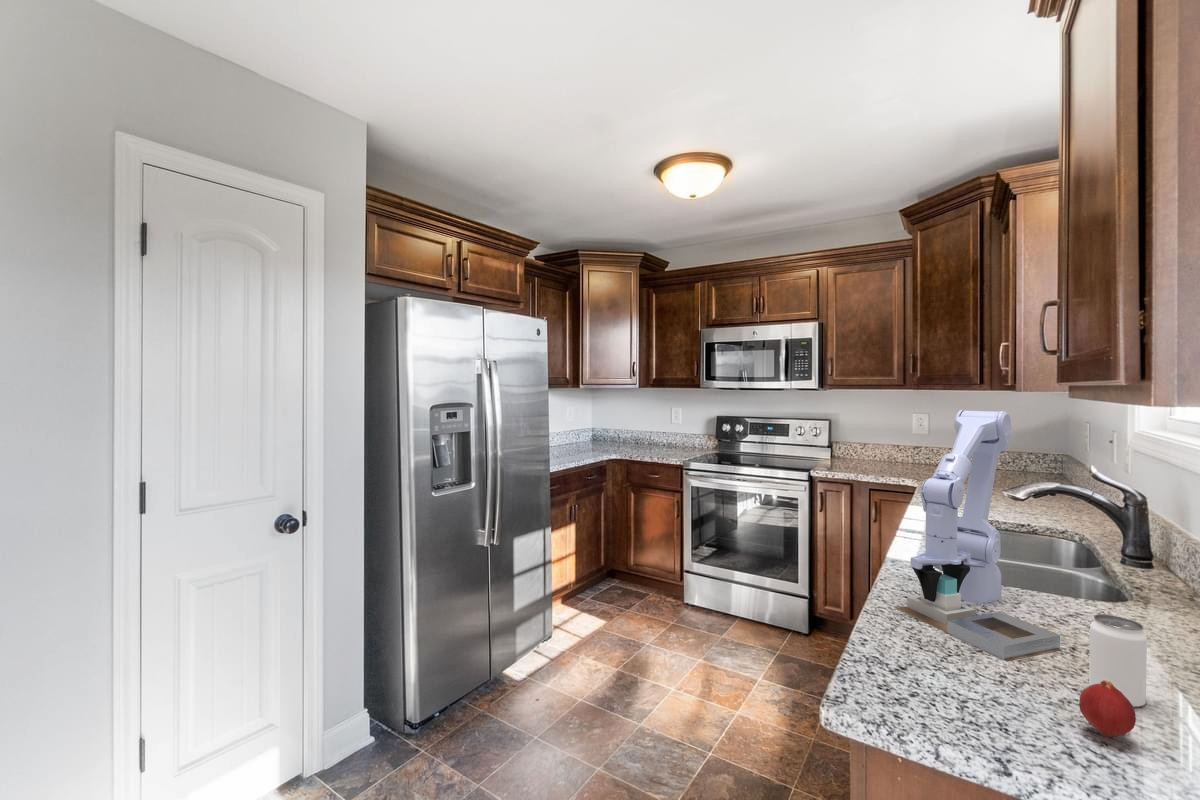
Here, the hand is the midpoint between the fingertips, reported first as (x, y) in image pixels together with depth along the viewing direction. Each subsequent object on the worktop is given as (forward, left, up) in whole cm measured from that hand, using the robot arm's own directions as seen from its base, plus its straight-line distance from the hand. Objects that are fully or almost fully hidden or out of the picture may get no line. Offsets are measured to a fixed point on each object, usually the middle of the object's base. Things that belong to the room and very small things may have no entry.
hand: (940, 598), depth 114 cm
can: (0, +31, -4) cm, 31 cm away
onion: (+13, +37, -4) cm, 39 cm away
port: (0, +13, -4) cm, 14 cm away
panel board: (0, +7, -4) cm, 8 cm away
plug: (0, 0, -3) cm, 3 cm away
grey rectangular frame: (0, 0, -4) cm, 4 cm away
